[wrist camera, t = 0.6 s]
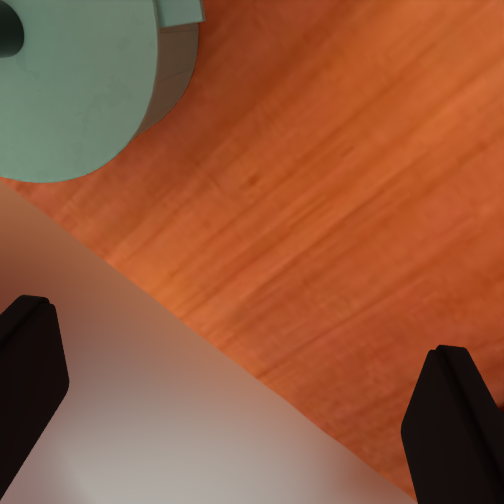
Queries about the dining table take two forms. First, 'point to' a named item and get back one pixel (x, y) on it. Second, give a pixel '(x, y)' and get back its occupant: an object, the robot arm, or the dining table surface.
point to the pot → (174, 54)
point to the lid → (73, 83)
